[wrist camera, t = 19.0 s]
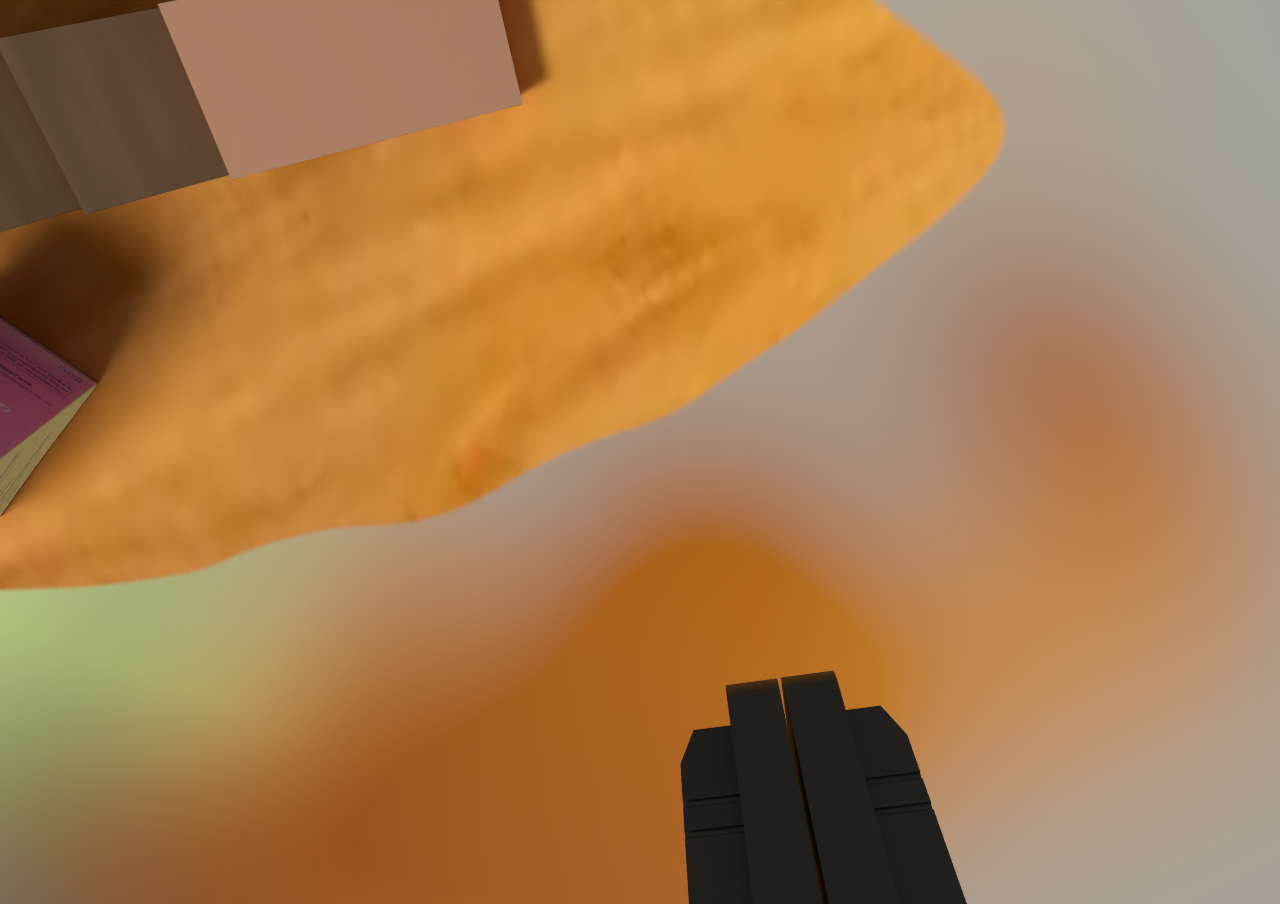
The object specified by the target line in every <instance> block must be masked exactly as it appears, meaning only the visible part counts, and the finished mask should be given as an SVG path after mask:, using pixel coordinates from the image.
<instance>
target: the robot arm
mask: <svg viewBox="0 0 1280 904" xmlns="http://www.w3.org/2000/svg"><path fill="white" fill-rule="evenodd" d="M781 682H782V690H783V698H784V706H785V714H786V719H785V714H784V709H783V704H782V699H781V695H780V690H779V685H778V681H777V679H770V680H762V681H754V682H747V683H739V684H732V685H726V693H727V701H728V708H729V716H730V724H731V725H729V726H723V727H715V728H707V729H700V730H699V729H698V730H694V731H693V733H692V736H691V738H690V741H689V743H688V746H687V749H686V751H685V754H684V756H683V759H682V761H681V781H682V796H683V805H684V808H683V812H684V830H685V846H686V862H687V879H688V895H689V904H967V903H966V900H965V898H964V895H963V892H962V889H961V886H960V883H959V881H958V878H957V875H956V872H955V869H954V866H953V863H952V861H951V858H950V855H949V852H948V849H947V846H946V844H945V841H944V838H943V835H942V832H941V829H940V827H939V824H938V821H937V818H936V815H935V812H934V810H933V809H932V806H931V801H930V798H929V795H928V793H927V790H926V787H925V784H924V781H923V779H922V778H921V774H920V770H919V767H918V764H917V761H916V759H915V756H914V753H913V750H912V747H911V744H910V741H909V738H908V736H907V734H906V733H905V732H904V731H903V730H902V729H901V728H900V727H899V725H898V724H897V723H896V722H895V721H894V720H893V719H892V718H891V717H890V716H889V714H888V713H887V712H886V711H885V710H884V709H883V708H882V707H881V706H874V707H867V708H859V709H851V710H845V706H844V703H843V699H842V696H841V692H840V689H839V685H838V682H837V678H836V676H835V673H834V671H827V672H820V673H812V674H805V675H797V676H790V677H782V678H781ZM786 722H787V724H786Z"/></svg>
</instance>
